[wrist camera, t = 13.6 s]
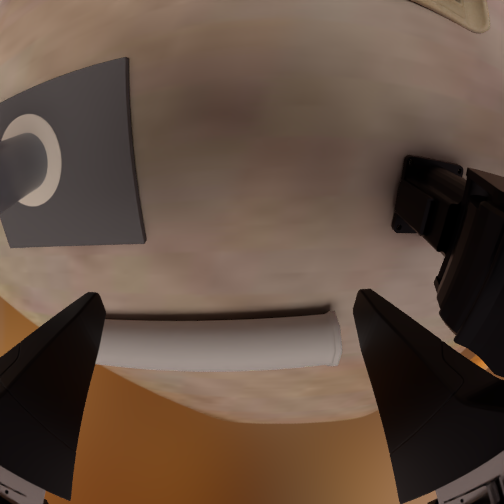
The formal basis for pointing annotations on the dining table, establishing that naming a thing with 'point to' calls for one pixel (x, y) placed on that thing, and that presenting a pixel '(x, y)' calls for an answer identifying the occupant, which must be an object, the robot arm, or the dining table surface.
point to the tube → (222, 344)
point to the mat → (77, 161)
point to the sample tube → (21, 168)
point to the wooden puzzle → (462, 12)
